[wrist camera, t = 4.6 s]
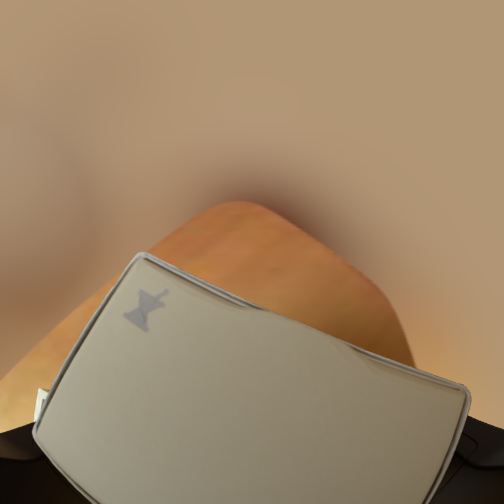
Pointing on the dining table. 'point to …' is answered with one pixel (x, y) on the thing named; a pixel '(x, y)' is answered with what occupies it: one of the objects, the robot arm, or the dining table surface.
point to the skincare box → (238, 405)
